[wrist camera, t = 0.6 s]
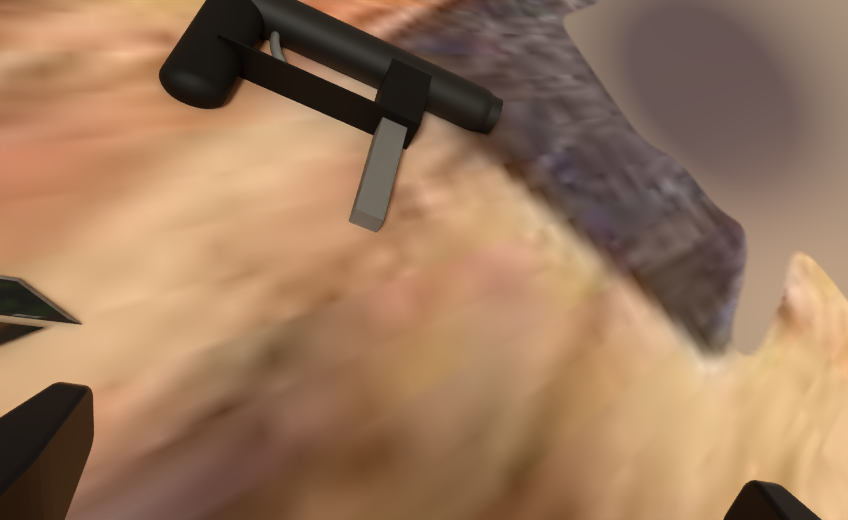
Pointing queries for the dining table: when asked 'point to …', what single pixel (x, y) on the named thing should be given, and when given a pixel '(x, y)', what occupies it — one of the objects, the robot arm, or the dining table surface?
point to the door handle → (324, 81)
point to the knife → (25, 308)
